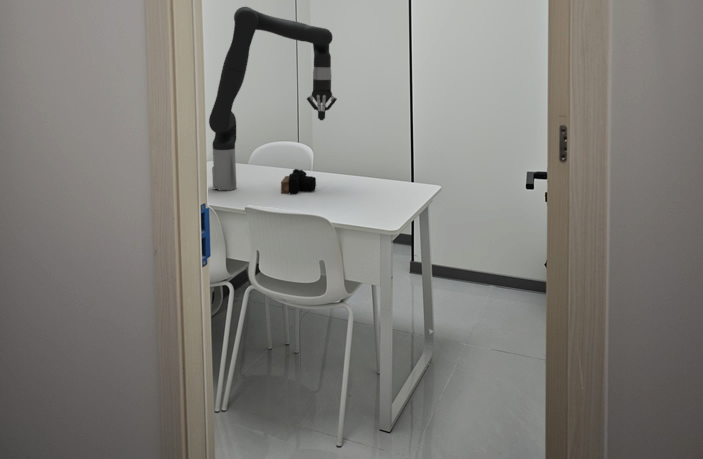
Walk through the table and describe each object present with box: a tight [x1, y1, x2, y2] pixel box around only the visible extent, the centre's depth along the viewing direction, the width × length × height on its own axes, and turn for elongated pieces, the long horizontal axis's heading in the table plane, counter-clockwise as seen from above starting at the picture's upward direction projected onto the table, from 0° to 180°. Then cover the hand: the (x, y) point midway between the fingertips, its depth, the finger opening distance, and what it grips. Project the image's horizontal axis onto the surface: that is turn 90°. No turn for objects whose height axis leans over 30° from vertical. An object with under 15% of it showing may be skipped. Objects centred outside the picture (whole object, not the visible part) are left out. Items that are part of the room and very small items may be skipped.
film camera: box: [288, 168, 317, 195], centre depth 308 cm, size 15×10×9 cm, turn 166°
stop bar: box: [280, 175, 290, 195], centre depth 309 cm, size 3×11×5 cm, turn 175°
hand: (321, 120), depth 308 cm, fingers closed
